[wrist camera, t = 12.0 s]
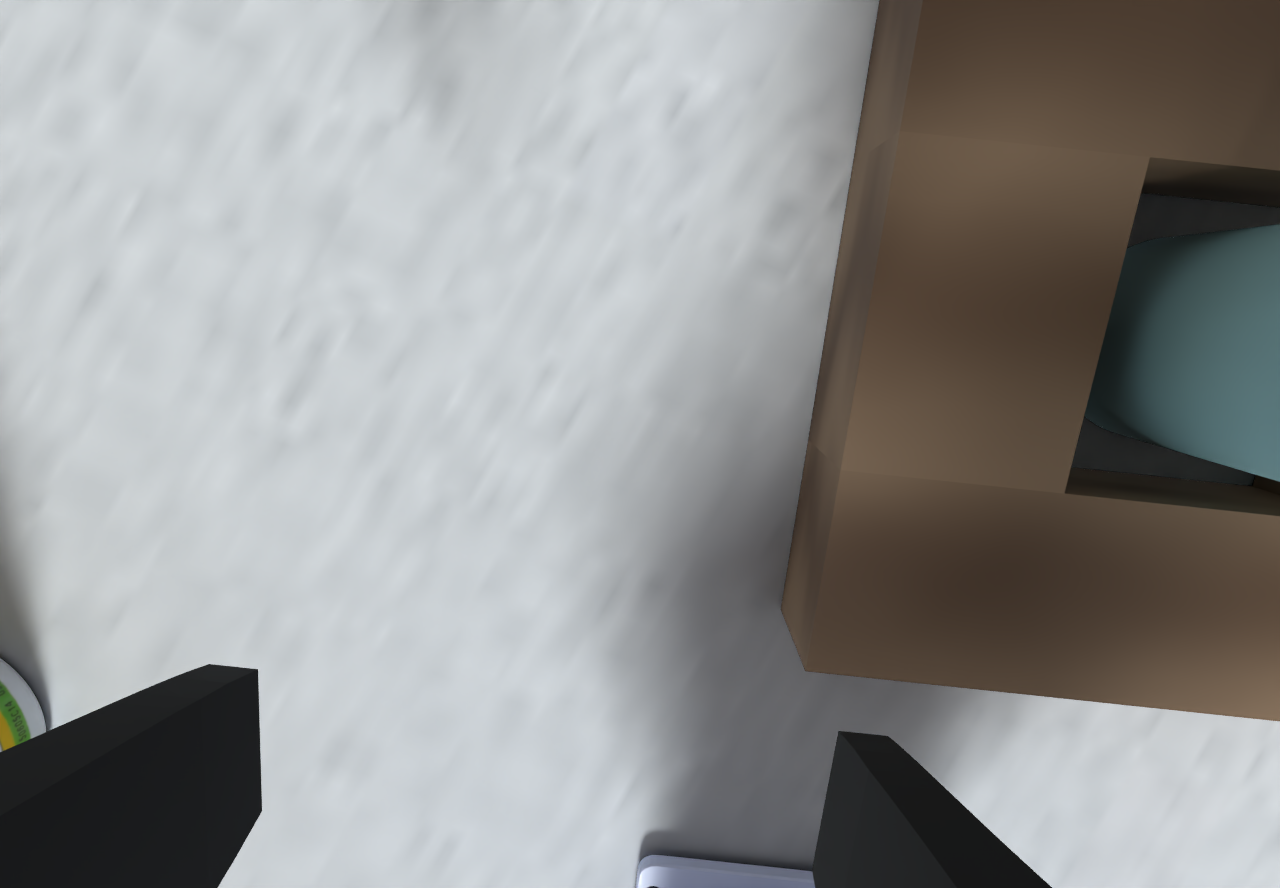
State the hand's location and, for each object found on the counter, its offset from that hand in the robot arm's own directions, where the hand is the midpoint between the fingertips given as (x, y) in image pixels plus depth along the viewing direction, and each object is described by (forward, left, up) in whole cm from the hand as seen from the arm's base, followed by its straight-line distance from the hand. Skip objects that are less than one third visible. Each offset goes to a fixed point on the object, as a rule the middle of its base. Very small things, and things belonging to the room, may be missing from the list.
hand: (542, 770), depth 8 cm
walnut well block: (+6, -13, -9) cm, 17 cm away
